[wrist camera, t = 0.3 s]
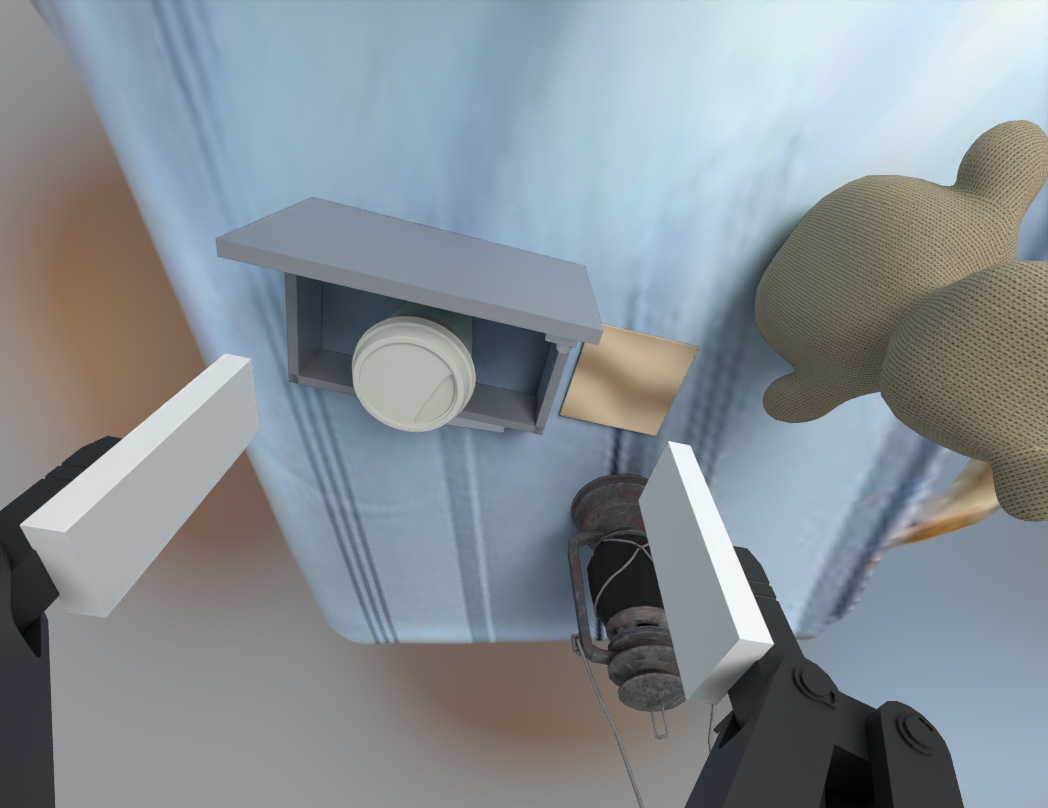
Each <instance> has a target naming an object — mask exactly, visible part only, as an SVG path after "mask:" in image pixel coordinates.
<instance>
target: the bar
mask: <svg viewBox="0 0 1048 808" xmlns="http://www.w3.org/2000/svg"><path fill="white" fill-rule="evenodd" d="M446 424H447V425H454V426H461V427H467V428H474V429H481V430H488V431H495V432H501V433H504V427H502V426H497V425H492V424H488V423H483V422H478V421H473V420H469V419H464V418H459V417H454V418H453V419H451V420H450V421H449V422H448V423H446Z"/></svg>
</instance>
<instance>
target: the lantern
mask: <svg viewBox="0 0 1048 808" xmlns="http://www.w3.org/2000/svg"><path fill="white" fill-rule="evenodd" d="M647 482H648V479H646V478H643V477H640V476H637V475H631V474H613V475H608V476H604V477H601V478H598V479H596V480H594V481H592V482H590V483H588V484H587V485H586V486H585V487H583V488H582V489H581V490H580V491H579V492H578V494H577V495H576V497H575V498H574V501H573V504H572V518H573V520H574V522H575V525H576V527H577V529H578V531H579V533H576V534H573V535H572V536H571V538H570V540H569V548H568V559H569V566H570V573H571V580H572V588H573V595H574V602H575V609H576V616H577V623H578V630H579V634H572V636H571V640H572V647H573V651H574V652H576V653H577V654H578V656H581V655H582V657H583V660H584V663H585V666H586V668H587V671H588V674H589V676H590V679H591V681H592V684H593V687H594V689H595V692H596V695H597V697H598V700H599V703H600V705H601V707H602V709H603V710H604V713H605V715H606V717H607V718H608V720H609V722H610V724H611V726H612V728H613V730H614V733H615V736H616V739H617V741H618V745H619V748H620V751H621V754H622V757H623V760H624V763H625V765H626V768H627V771H628V774H629V777H630V780H631V783H632V786H633V789H634V792H635V795H636V797H637V801H638V804H639V806H640V808H644V806H643V803H642V800H641V797H640V794H639V791H638V788H637V785H636V783H635V780H634V777H633V774H632V771H631V768H630V765H629V762H628V760H627V757H626V754H625V751H624V748H623V745H622V742H621V740H620V736H619V734H618V731H617V728H616V726H615V724H614V722H613V720H612V718H611V716H610V715H609V713H608V711H607V709H606V707H605V705H604V703H603V701H602V698H601V696H600V693H599V691H598V688H597V685H596V683H595V680H594V678H593V675H592V672H591V669H590V667H589V664H588V662H587V659H589V660H590V661H591V662H594V663H601V664H606V665H608V673H609V678H610V679H611V680H612V681H613V682H614V683H615V684H616V685H617V686H620V688H619V690H618V695H619V700H620V701H621V702H622V703H623V704H625V705H626V706H628V707H631V708H634V709H636V710H641V711H649V712H651V716H652V722H653V727H654V733H655V737H656V739H662V738H666V737H668V736H669V731H668V726H667V721H666V716H665V711H664V710H668V709H672V708H674V707H676V706H678V705H679V704H681V703H683V702H685V701H686V697H685V692H684V688H683V684H682V680H681V676H680V672H679V667H678V663H677V659H676V655H675V651H674V646H673V642H672V638H671V634H670V630H669V626H668V621H667V617H666V613H665V609H664V605H663V600H662V596H661V592H660V588H659V584H658V580H657V575H656V571H655V567H654V563H653V559H652V555H651V550H650V546H649V542H648V538H647V534H646V529H645V525H644V521H643V517H642V513H641V509H640V504H639V498H640V496H641V494H642V492H643V490H644V488H645V486H646V484H647ZM585 544H587V545H588V546H589V547H590V548H591V549H593V550H594V555H593V556H592V558H591V560H590V563H589V565H588V567H587V570H588V580H589V587H590V592H591V597H592V601H593V605H594V614H595V616H596V617H597V618H598V619H601V621H602V623H603V624H604V626H605V627H606V632H607V637H608V638H609V639H610V640H611V641H610V643H609V645H608V650H603V649H600V648H598V647H596V646H595V645H593V644H592V642H591V636H590V631H589V624H588V617H587V610H586V603H585V596H584V589H583V582H582V574H581V567H580V560H579V552H578V547H579V546H582V545H585ZM596 613H597V614H596ZM575 640H576V641H575ZM586 658H587V659H586ZM654 711H662V714H663V719H664V724H665V729H666V734H665V735H661V736H658V735H657V730H656V724H655V720H654V714H653V712H654ZM715 713H716V705H714V704H712V712H711V720H710V728H709V737H708V744H709V752H711V750H712V748H713V745H712V740H713V731H714V730H713V729H714V722H715Z"/></svg>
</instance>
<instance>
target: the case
mask: <svg viewBox="0 0 1048 808" xmlns="http://www.w3.org/2000/svg"><path fill="white" fill-rule="evenodd" d="M216 245H217V254H218V257H223V258H227V259H231V260H235V261H240V262H244V263H248V264H253V265H257V266H261V267H265V268H270V269H274V270H278V271H282V272H285V284H286V313H287V342H288V370H289V382H293V383H297V384H302V385H307V386H312V387H316V388H321V389H326V390H331V391H336V392H340V393H345V394H350V395H355V396H357V395H356V393H355V389H354V386H353V375H352V360H353V356H350V355H346V354H341V353H337V352H332V351H328V350H323V349H322V281H325V282H329V283H334V284H338V285H342V286H346V287H351V288H355V289H359V290H363V291H368V292H372V293H376V294H381V295H385V296H389V297H393V298H398V299H402V300H406V301H410V302H415V303H419V304H423V305H427V306H432V307H436V308H440V309H445V310H449V311H453V312H457V313H462V314H466V315H470V316H474V317H479V318H483V319H487V320H491V321H496V322H500V323H504V324H509V325H513V326H517V327H521V328H526V329H530V330H534V331H538V332H543V333H545V341H549V342H552V344H551V347H550V350H549V354H548V357H547V360H546V364H545V367H544V370H543V374H542V377H541V380H540V384H539V387H538V390H537V394H536V396H533V395H528V394H524V393H519V392H515V391H510V390H506V389H501V388H496V387H492V386H487V385H483V384H478V383H475V387H474V391H473V394H472V396H471V398H470V400H469V401H468V403H467V404H466V406H465V407H464V409H463V410H462V411H461V412H460V413H459V414H458V415H457V416H455V417H459V418H464V419H469V420H473V421H478V422H483V423H488V424H492V425H497V426H502V427H507V428H511V429H516V430H521V431H526V432H531V433H535V434H540V435H542V434H543V430H544V427H545V424H546V421H547V418H548V415H549V412H550V409H551V406H552V403H553V400H554V397H555V394H556V391H557V388H558V385H559V382H560V379H561V375H562V372H563V369H564V366H565V363H566V360H567V357H568V354H569V352H570V351H571V349H572V347H576V344H577V341H581V342H585V343H590V344H594V345H599V342H600V339H601V337H602V334H603V331H604V330H603V327H602V323H601V320H600V316H599V313H598V309H597V306H596V302H595V299H594V295H593V292H592V289H591V285H590V282H589V278H588V275H587V271H586V268H585V266H583V265H579V264H575V263H571V262H567V261H563V260H559V259H555V258H551V257H547V256H543V255H539V254H535V253H531V252H528V251H524V250H520V249H516V248H512V247H508V246H504V245H500V244H496V243H492V242H488V241H484V240H480V239H476V238H472V237H468V236H464V235H460V234H456V233H452V232H448V231H444V230H440V229H436V228H432V227H429V226H425V225H421V224H417V223H413V222H409V221H405V220H401V219H397V218H393V217H389V216H385V215H381V214H377V213H373V212H369V211H365V210H361V209H357V208H353V207H349V206H345V205H341V204H337V203H333V202H330V201H326V200H322V199H318V198H314V197H312V198H309V199H307V200H304V201H302V202H300V203H297V204H295V205H293V206H290V207H288V208H286V209H283V210H281V211H279V212H276V213H274V214H271V215H269V216H267V217H264V218H262V219H260V220H257V221H255V222H253V223H250V224H248V225H246V226H243V227H241V228H239V229H236V230H234V231H231V232H229V233H227V234H224V235H222V236H220V237H217V238H216Z"/></svg>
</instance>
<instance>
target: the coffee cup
mask: <svg viewBox="0 0 1048 808" xmlns="http://www.w3.org/2000/svg"><path fill="white" fill-rule="evenodd" d="M352 375H353V386H354V389H355V393H356V395H357V397H358V399H359V401H360V403H361V404H362V405H363V407H364V408H365V409H366V410H367V411H368V412H369V413H370V414H371V415H372V416H373V417H374V418H376V419H377V420H379V421H380V422H382V423H384V424H385V425H387V426H390V427H392V428H395V429H398V430H402V431H408V432H425V431H430V430H434V429H437V428H439V427H441V426H443V425H445V424H446V423H448V422H449V421H450V420H451V419H453V418H454V417H455V416H457V415H458V414H459V413H460V412H461V411H462V410H463V409H464V407H465V406H466V404H467V403H468V401H469V400H470V398H471V396H472V394H473V391H474V387H475V379H476V376H475V368H474V364H473V361H472V316H470V315H466V314H462V313H457V312H453V311H449V310H445V309H440V308H436V307H432V306H427V305H423V304H419V303H415V302H410V301H407V302H405V303H404V304H403V305H402V306H401V307H400V308H399V309H397V310H396V311H395V312H394V313H393V314H392V315H391V316H389V317H388V318H387V319H386V320H383V321H381V322H379V323H377V324H375V325H374V326H372V327H371V328H370V329H368V330H367V331H366V332H365V333H364V334H363V336H362V337H361V338H360V340H359V342H358V344H357V346H356V349H355V352H354V355H353V360H352Z"/></svg>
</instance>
